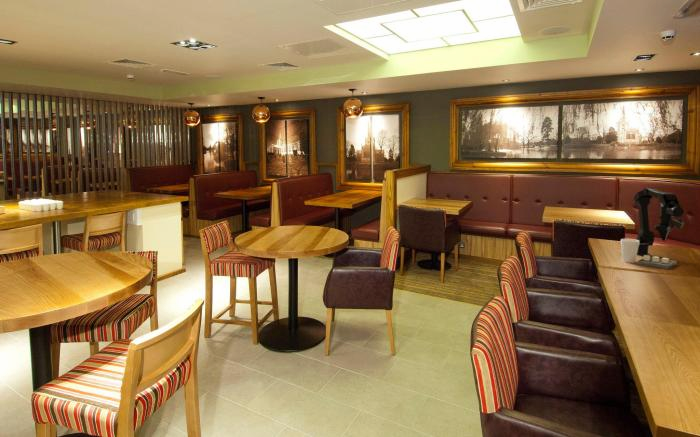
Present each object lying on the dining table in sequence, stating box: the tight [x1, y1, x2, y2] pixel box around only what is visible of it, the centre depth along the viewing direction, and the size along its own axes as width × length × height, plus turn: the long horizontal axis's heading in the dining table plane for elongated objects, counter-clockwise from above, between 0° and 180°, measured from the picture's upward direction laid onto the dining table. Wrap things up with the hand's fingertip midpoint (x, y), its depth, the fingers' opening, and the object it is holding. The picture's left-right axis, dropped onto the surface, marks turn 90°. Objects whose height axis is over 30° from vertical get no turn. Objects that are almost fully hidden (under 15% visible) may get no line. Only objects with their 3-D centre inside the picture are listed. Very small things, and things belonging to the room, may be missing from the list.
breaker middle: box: [652, 255, 660, 262], centre depth 249 cm, size 2×3×3 cm
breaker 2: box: [661, 257, 670, 263], centre depth 246 cm, size 2×3×3 cm
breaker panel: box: [637, 256, 678, 270], centre depth 251 cm, size 16×15×2 cm
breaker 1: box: [642, 255, 651, 261], centre depth 252 cm, size 2×3×3 cm
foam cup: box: [620, 238, 640, 264], centre depth 258 cm, size 10×9×13 cm
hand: (664, 240), depth 254 cm, fingers closed
